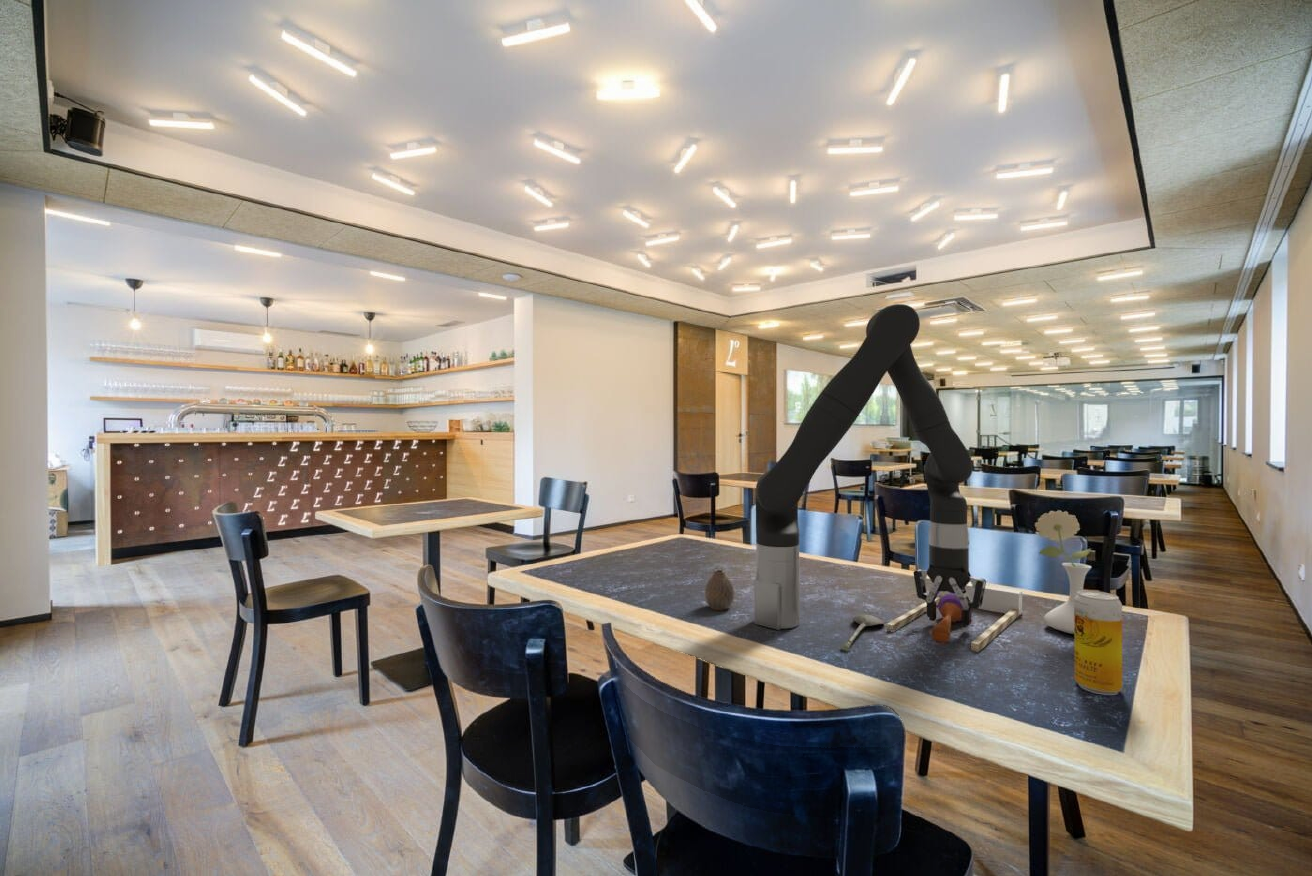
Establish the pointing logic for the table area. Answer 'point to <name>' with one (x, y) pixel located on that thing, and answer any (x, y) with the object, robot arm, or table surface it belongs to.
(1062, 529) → the flower in vase
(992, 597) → the end stop
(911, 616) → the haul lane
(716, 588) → the vase
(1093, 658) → the beer can
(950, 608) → the kendama
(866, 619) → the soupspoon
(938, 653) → the table surface
